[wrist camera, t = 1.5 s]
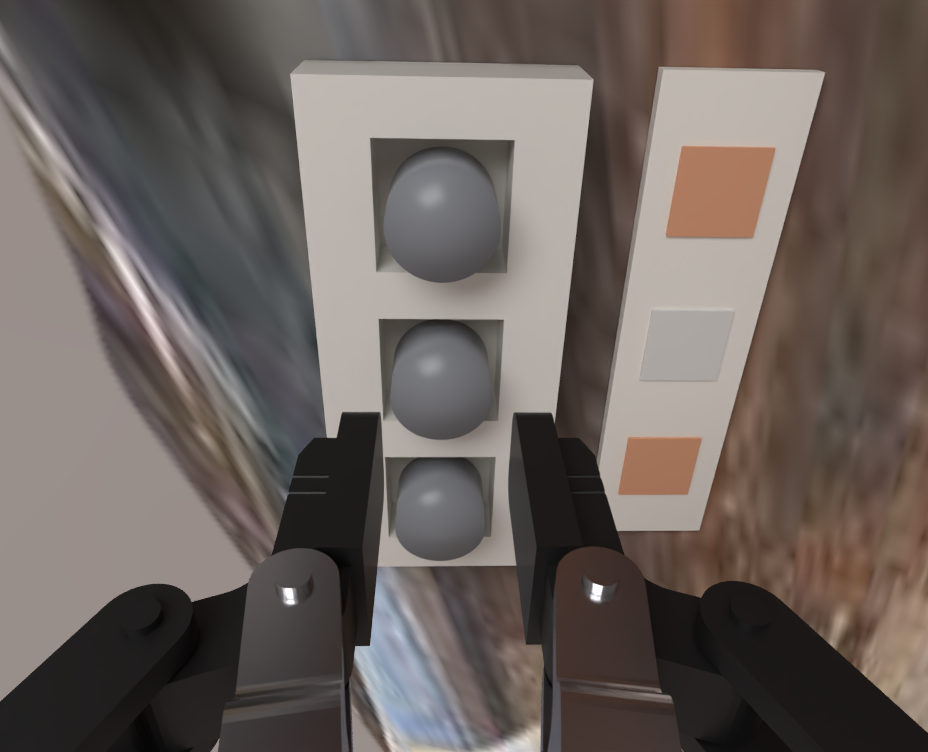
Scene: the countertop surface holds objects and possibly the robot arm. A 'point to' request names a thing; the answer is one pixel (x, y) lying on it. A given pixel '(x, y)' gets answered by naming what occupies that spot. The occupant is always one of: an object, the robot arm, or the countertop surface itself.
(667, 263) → the pattern card
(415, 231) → the button near
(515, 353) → the button panel
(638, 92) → the countertop surface
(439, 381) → the button middle
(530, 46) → the countertop surface
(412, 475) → the button far
